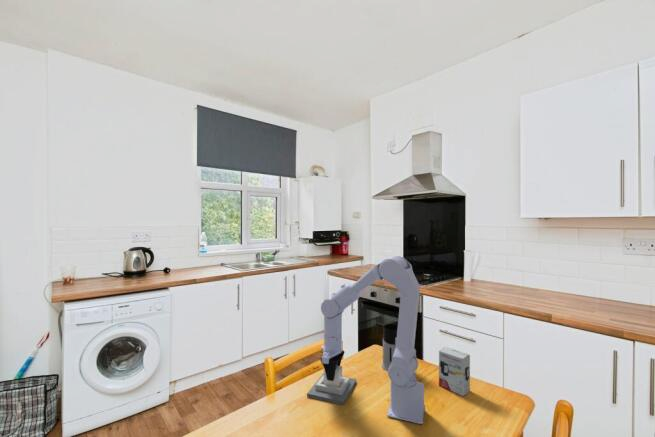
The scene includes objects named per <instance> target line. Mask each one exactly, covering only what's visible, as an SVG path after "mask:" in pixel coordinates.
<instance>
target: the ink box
mask: <svg viewBox="0 0 655 437" xmlns="http://www.w3.org/2000/svg"><path fill="white" fill-rule="evenodd" d="M438 386H439V387H442V388H444V389H446V390H449V391H451V392H453V393H455V394H458V395H460V396H462V397H463V396H466V395H467V394H469V393H470V392H471V356H470V354H469V353H467V352H464V351H461V350H457V349H455V348H452V347H449V346H446V347H445V346H444V347H443V348H441V349H439V351H438Z"/></svg>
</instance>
